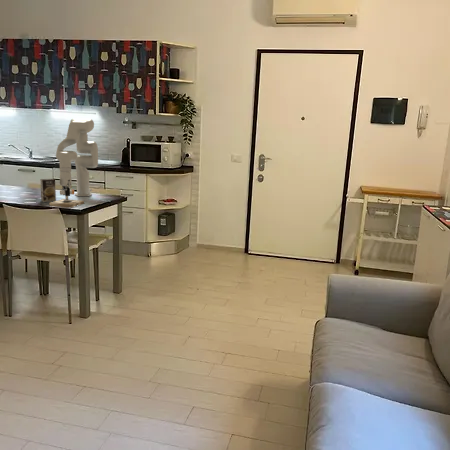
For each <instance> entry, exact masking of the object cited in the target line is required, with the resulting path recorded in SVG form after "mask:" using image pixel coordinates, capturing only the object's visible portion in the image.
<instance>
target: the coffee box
mask: <svg viewBox="0 0 450 450" xmlns="http://www.w3.org/2000/svg"><path fill="white" fill-rule="evenodd" d="M56 190H57V189H56V179H54V178H41V179H40V201H41V202H43V203H50V202H52V201H53V202H54V201H57V198H56V197H57V194H56V192H57V191H56Z"/></svg>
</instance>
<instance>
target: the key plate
mask: <svg viewBox="0 0 450 450" xmlns="http://www.w3.org/2000/svg"><path fill="white" fill-rule="evenodd" d="M64 200H65V198H62V199H58V200H56V201H53V202H48V203H49V206H51V207H59V206H61V207H60V208H69V207H71V208H74V206H75V207H78V206H81V205H84V204H85V200H81V199H80V200H79V199H70V201H67V202H66V201H64ZM77 205H78V206H77Z"/></svg>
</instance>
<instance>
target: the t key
mask: <svg viewBox="0 0 450 450" xmlns="http://www.w3.org/2000/svg"><path fill="white" fill-rule="evenodd" d="M59 195H60V196H65V190H63V189H59ZM70 195H75V189H70ZM64 199H65V200H64V201H66V202H67V201H70V200H71V198H70V199H69V196H65V198H64Z"/></svg>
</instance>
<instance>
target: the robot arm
mask: <svg viewBox="0 0 450 450" xmlns="http://www.w3.org/2000/svg"><path fill="white" fill-rule="evenodd" d="M94 127H95V121H94V120H93V119H91V118H82V117H81V118H79V117H77V118H76V117H75V118H72V119H70V122H69V124H68V129H67V132H66V137H65V138H64V139H63V140H61V141H60V142H59V144H58V145H57V148H56V153H55V158H56V160H57V161H59V186H61V188H62V189H61V190H65V195H64V196H68V197H70V196H71V194H70V190H71V188H72V162H74V164H75V170H76V171H75V172H76V193H74V196H75V197H91V196H92V193H91V192H92V191H93V189H92V188H90V172H89V170H88V169H89V168H90V169H95V168H97V167H98V165H99V148H98V144H97V142H96V141H89V137H88V133H90V132H91V131H93V130H94ZM75 144H76V145H75ZM72 145H75V146H76V151H74V150H65V149H66V148H67V147H70V146H72ZM78 153H79V154H80V155H78ZM83 154H84V155H83ZM87 154H88V155H87Z"/></svg>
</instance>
